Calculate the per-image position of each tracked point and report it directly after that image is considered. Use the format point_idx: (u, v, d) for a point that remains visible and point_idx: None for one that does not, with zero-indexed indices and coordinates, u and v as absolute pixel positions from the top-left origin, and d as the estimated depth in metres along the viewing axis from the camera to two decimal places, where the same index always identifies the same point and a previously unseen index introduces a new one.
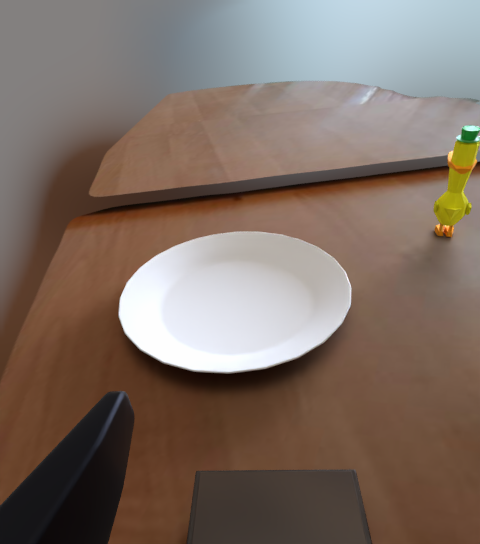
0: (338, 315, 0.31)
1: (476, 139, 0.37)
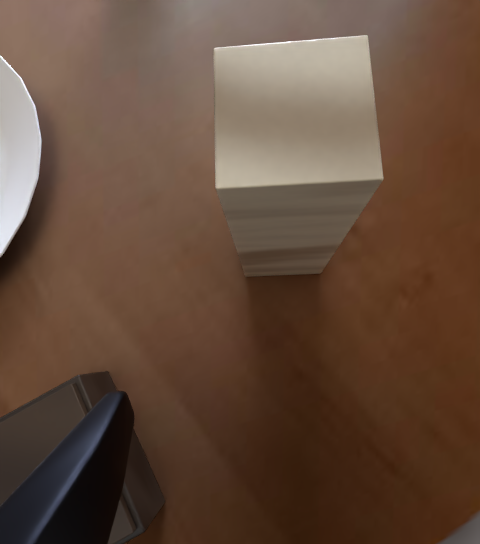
0: (32, 163, 0.24)
1: None
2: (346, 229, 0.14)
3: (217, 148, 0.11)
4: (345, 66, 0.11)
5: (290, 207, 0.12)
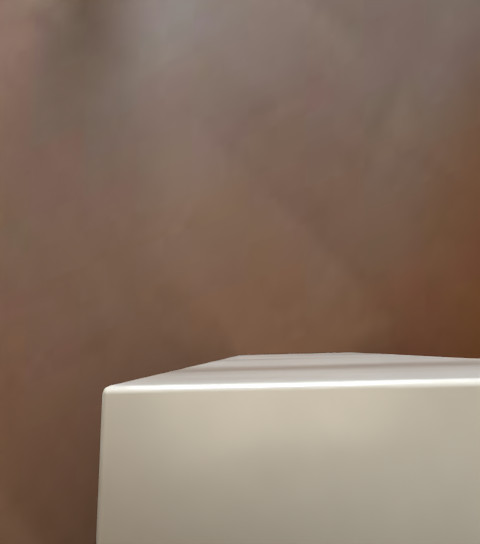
0: None
1: None
2: None
3: None
4: None
5: None
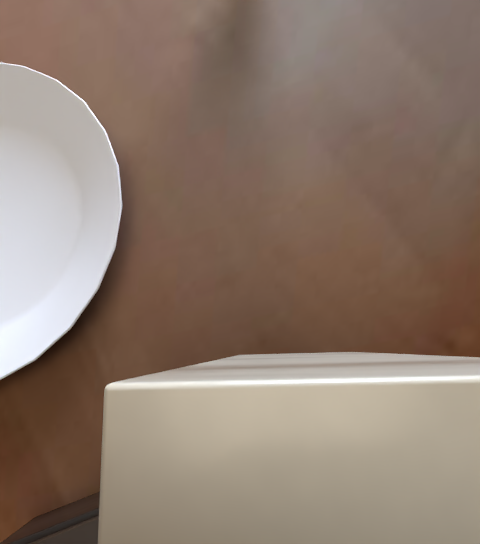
0: (109, 229, 0.22)
1: None
2: None
3: None
4: None
5: None
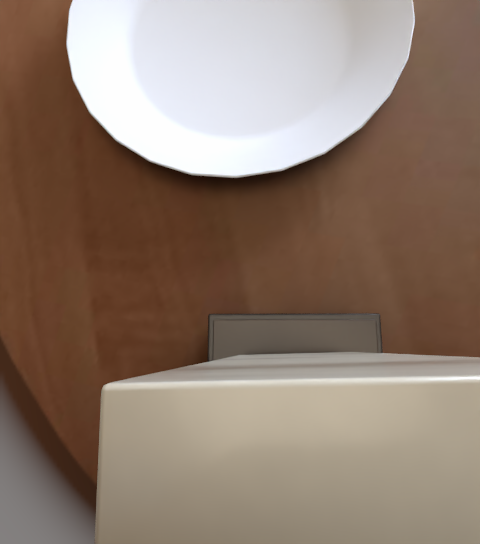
0: (387, 77, 0.21)
1: None
2: None
3: None
4: None
5: None
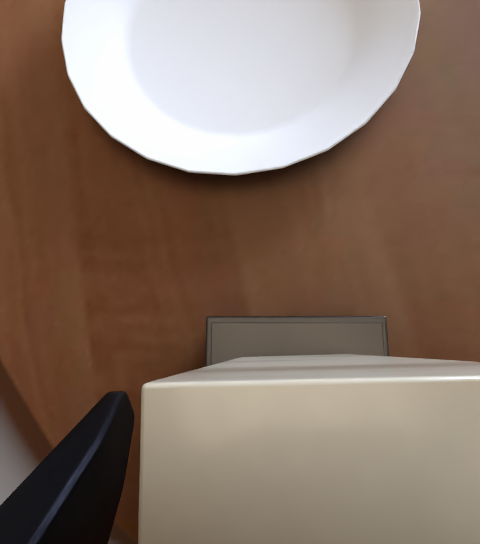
0: (392, 72, 0.21)
1: None
2: None
3: None
4: None
5: None
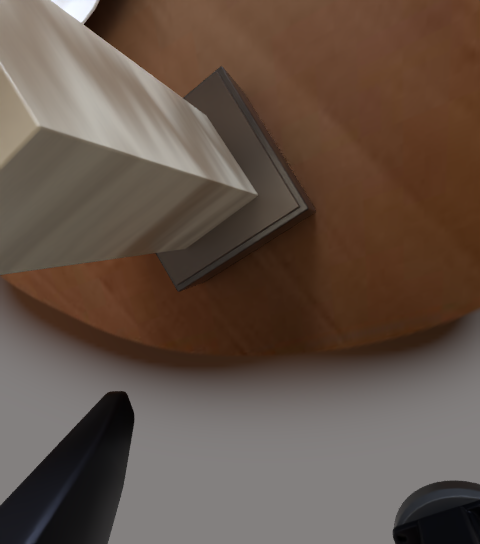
0: None
1: None
2: (171, 173, 0.10)
3: None
4: None
5: (30, 224, 0.08)
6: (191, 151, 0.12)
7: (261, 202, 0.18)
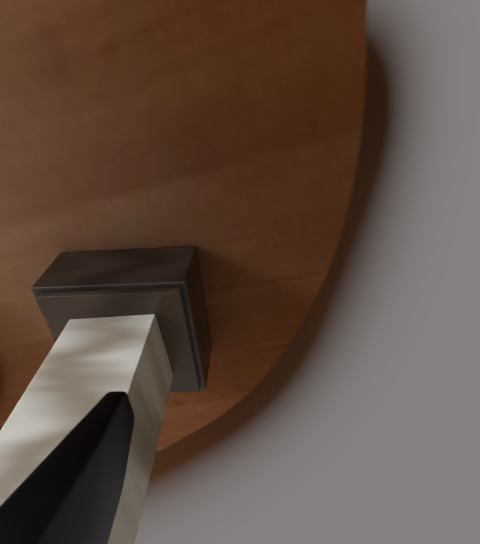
0: None
1: None
2: None
3: None
4: None
5: None
6: None
7: (162, 314, 0.19)
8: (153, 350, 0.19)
